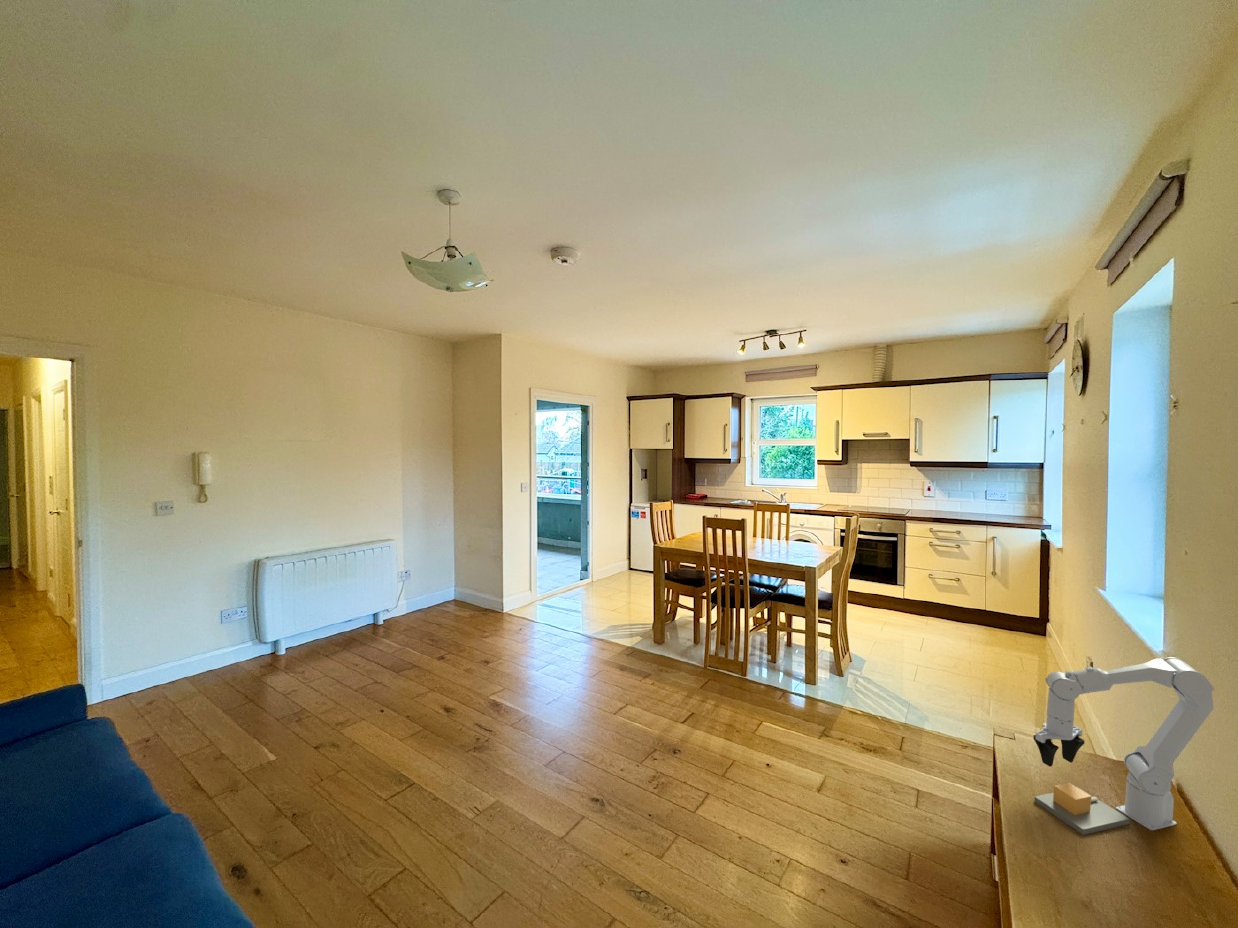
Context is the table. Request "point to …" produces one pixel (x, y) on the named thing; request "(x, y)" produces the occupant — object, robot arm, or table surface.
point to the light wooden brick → (1072, 798)
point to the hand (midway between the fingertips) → (1057, 762)
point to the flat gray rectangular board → (1085, 815)
